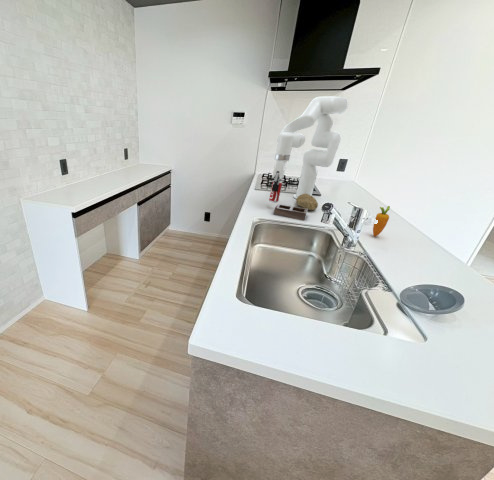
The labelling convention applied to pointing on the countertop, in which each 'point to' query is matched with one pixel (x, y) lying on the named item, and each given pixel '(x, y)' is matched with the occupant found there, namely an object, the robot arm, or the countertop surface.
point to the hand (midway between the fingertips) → (275, 189)
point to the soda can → (275, 193)
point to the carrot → (381, 221)
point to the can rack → (291, 211)
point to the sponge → (307, 202)
